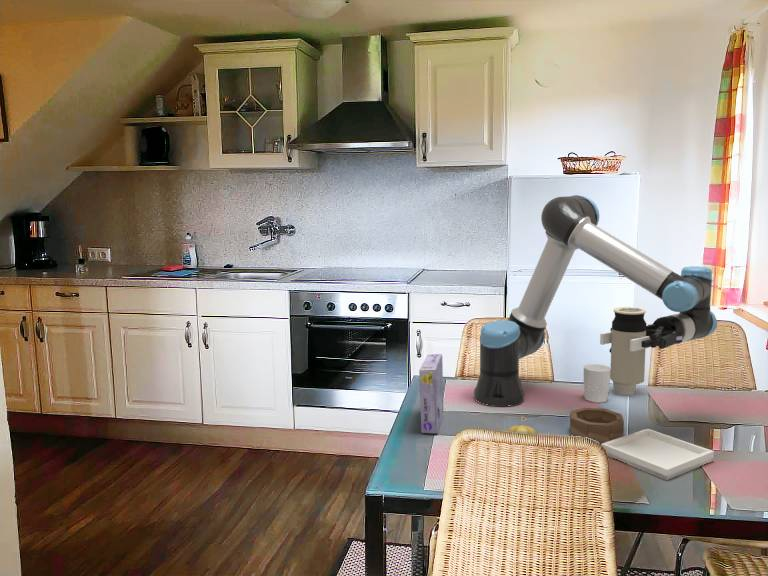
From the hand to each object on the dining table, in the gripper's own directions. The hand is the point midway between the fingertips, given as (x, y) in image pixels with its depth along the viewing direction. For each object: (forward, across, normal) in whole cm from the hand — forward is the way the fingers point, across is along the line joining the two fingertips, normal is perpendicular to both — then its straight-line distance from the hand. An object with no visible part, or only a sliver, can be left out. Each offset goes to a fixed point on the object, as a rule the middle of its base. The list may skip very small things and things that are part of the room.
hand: (616, 342), depth 163 cm
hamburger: (+27, +5, -27) cm, 39 cm away
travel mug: (-5, 0, -11) cm, 12 cm away
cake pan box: (+25, +40, -27) cm, 55 cm away
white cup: (-27, +27, -27) cm, 47 cm away
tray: (-4, -10, -27) cm, 29 cm away
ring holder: (-4, +8, -27) cm, 29 cm away
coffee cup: (-39, +26, -27) cm, 54 cm away
